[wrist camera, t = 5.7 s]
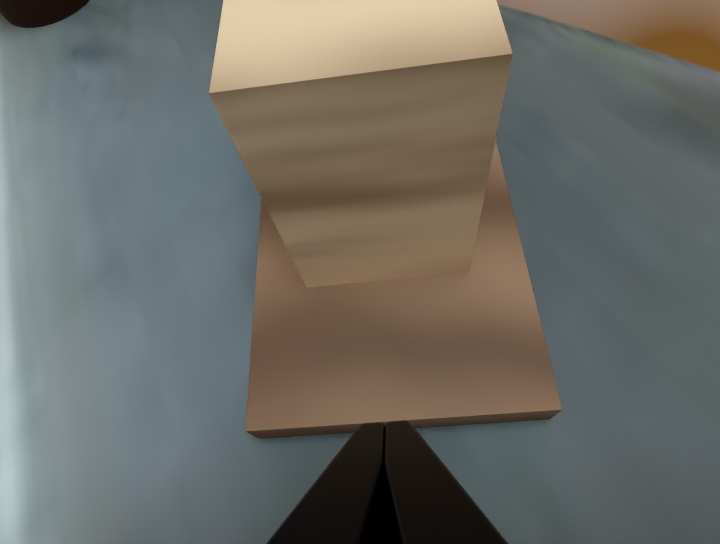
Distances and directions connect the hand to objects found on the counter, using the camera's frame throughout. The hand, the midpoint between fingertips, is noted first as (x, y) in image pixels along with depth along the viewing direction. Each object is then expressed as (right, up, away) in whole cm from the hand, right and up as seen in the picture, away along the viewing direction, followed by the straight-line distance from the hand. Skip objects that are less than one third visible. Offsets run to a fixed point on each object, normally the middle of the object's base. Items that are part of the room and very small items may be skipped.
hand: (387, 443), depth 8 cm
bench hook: (+1, +5, +12) cm, 13 cm away
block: (0, +7, +11) cm, 13 cm away
